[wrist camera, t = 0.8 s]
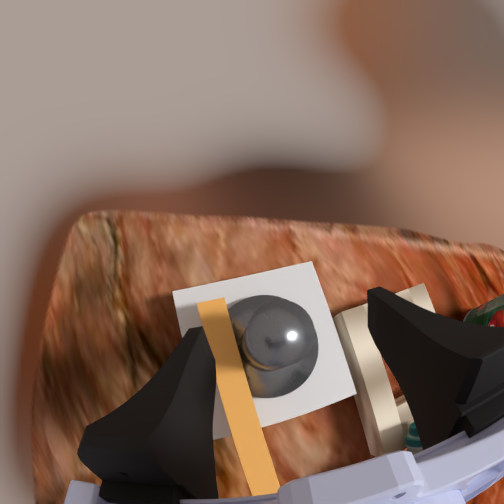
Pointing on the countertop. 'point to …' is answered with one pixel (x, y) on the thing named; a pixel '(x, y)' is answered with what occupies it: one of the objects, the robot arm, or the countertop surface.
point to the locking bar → (238, 399)
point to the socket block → (313, 301)
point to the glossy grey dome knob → (274, 344)
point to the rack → (376, 377)
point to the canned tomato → (488, 313)
